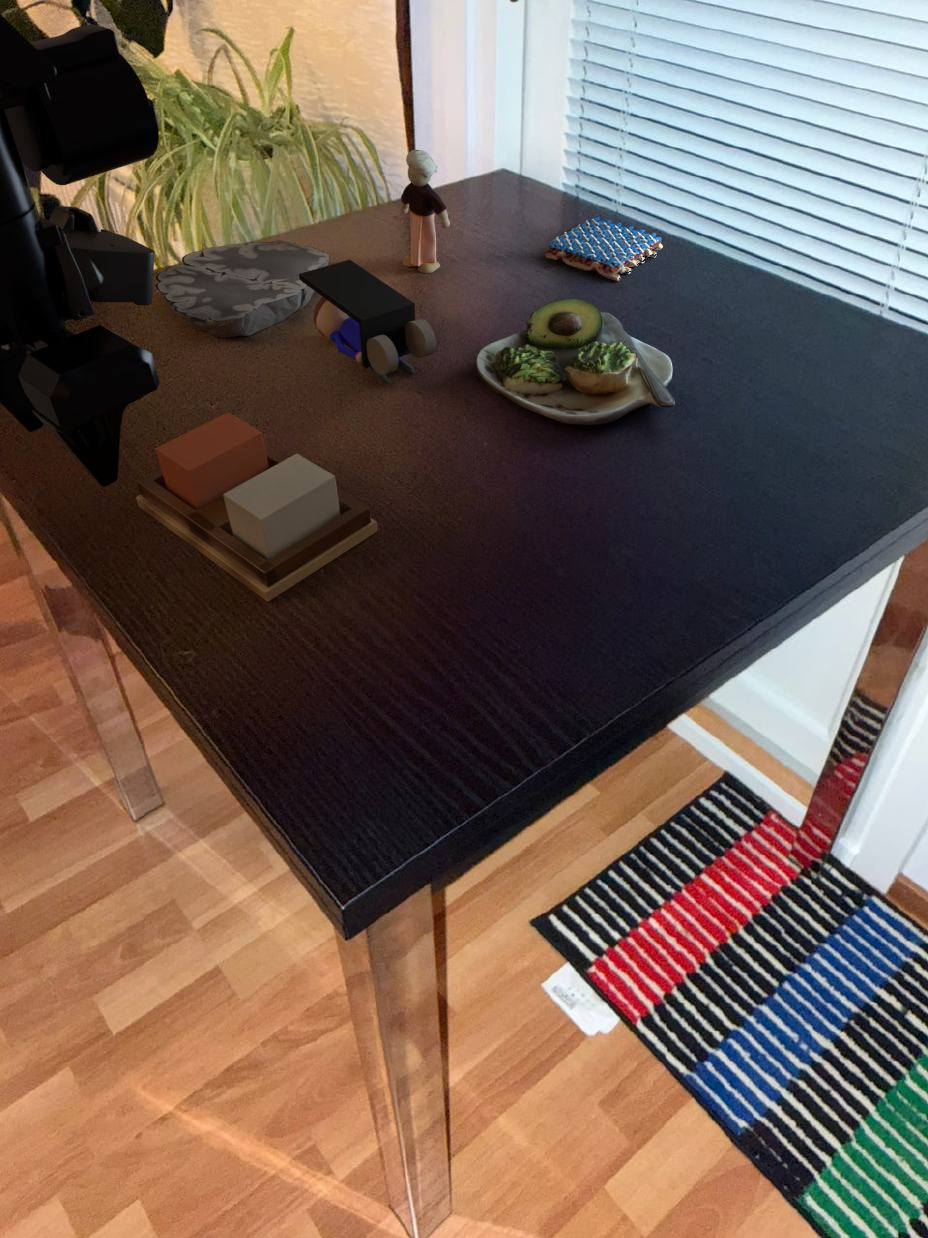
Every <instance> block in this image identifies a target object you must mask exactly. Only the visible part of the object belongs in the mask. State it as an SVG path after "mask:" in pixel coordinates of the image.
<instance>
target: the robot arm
mask: <svg viewBox="0 0 928 1238" xmlns="http://www.w3.org/2000/svg"><path fill="white" fill-rule="evenodd" d="M152 100H153V99H151V98H149V97H148V93H147V91H146V89H145V87H144V85H143V83H142V81H141V79H140V77H139V75H138V73H137V72H136V71H135V70H134V68H133V67H132V65H131V63H130V62H129V61H128V60H127V59H126V58H125V56H123V55H122V54H121V53H120V49H119V45H118V41H117V36H116V33H115V31H114V30H113V29H111V28H108V27H105V26H101V25H97V24H94V23H88V24H86V25H80V26H77V27H76V26H75V27H73V28H71V29H69V30H68V31H66V32H64V33H63V34H60V35H56V36H52V37H48V38H43V39H39V40H34V41H29V40H28V39H27V38H26V37H25V36H24V35H23V34H22V33H21V32H20V31H19V30H18V29H16V28H15V26H13V25H12V24H11V23H10V22H9V21H8V20H7V19H6V18H5V17H4V16H3V15H2V14H1V13H0V406H1V407H2V408H3V409H4V410H5V411H6V412H7V413H8V414H9V415H11V417H12V418H13V419H15V420H16V422H18V423H19V425H21V426H22V428H24V429H25V430H26V431H27V432H29V433H33V432H36V431H38V430H40V429H42V428H44V426H45V427H46V428H47V430H48V431H49V432H50V433H51V434H52V435H53V436H54V438H56V439H57V441H59V443H60V444H61V445H62V446H63V447H64V448H65V449H66V450H67V451H68V452H69V453H70V455H71V456H72V457H73V458H74V459H75V460H76V461H77V462H78V464H80V465H81V467H82V468H83V469H84V470H85V471H86V472H87V473H88V474H89V475H90V476H91V478H93V479H94V481H95V482H96V483H97V484H98V485H99V486H101V487H103V488H106V487H109V486H110V485H113V484H114V483H115V482H117V481H118V480H119V469H120V468H119V466H120V449H121V448H120V447H121V433H122V432H121V431H122V425H123V424H122V422H123V417H124V413H125V410H126V409H127V408H128V406H129V405H130V404H132V403H136V401H139V400H141V399H142V398H144V397H145V396H147V395H149V394H151V393H154V392H156V391H158V388H159V386H160V382H161V381H160V378H159V375H158V371H157V368H156V364H155V360H154V358H153V353H152V352H151V351H149V350H147V349H145V348H144V347H143V346H140V345H139V344H137V343H135V342H134V341H132V340H130V339H128V338H127V337H125V336H123V335H121V334H120V333H118V332H116V331H114V330H112V329H110V328H108V327H106V326H104V325H101V324H98V325H96V326H94V327H91V328H89V329H86V330H83V331H80V332H79V333H76V332H74V331H72V330H70V329H69V328H67V324H66V322H67V321H69V320H73V321H74V322H78V321H81V320H83V319H85V318H88V317H90V316H93V315H95V312H94V309H93V306H92V303H133V304H135V305H136V306H138V307H139V306H140V307H141V306H143V307H145V306H151V305H152V303H153V288H154V272H155V271H154V270H155V255H156V254H155V253H156V252H155V250H154V249H152V248H150V247H148V246H147V245H144V244H142V243H140V242H138V241H135V240H134V239H131V238H130V237H127V236H126V235H123V234H119V233H115V232H112V231H110V230H108V229H105V228H104V229H103V228H102V229H99V227H98V224H97V222H96V220H95V218H94V216H93V215H92V214H91V213H90V212H87V210H84V209H81V208H79V207H76V206H67V205H56V206H55V207H54V209H53V211H52V213H51V215H50V217H49V219H46V218H45V217H42V216H41V215H40V213H39V210H38V206H37V203H36V201H35V198H34V195H33V192H32V189H31V185H30V183H29V180H28V176H27V174H26V171H25V168H24V165H25V167H26V168H27V169H29V170H30V171H32V172H36V173H37V172H41V173H42V174H43V175H44V176H45V177H46V179H48V180H49V181H50V182H52V183H53V184H55V185H58V186H67V185H70V184H73V183H76V182H77V183H78V182H79V181H83V180H85V179H89V178H91V177H95V176H98V175H101V174H104V173H107V172H110V171H114V170H117V169H120V168H122V167H126V166H129V165H132V164H135V163H139V162H142V161H145V160H148V159H150V158H151V157H153V156H154V155H155V154H156V152H157V150H158V145H159V141H160V127H159V122H158V115H157V110H156V107H155V104H154V102H153V101H152Z"/></svg>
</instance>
